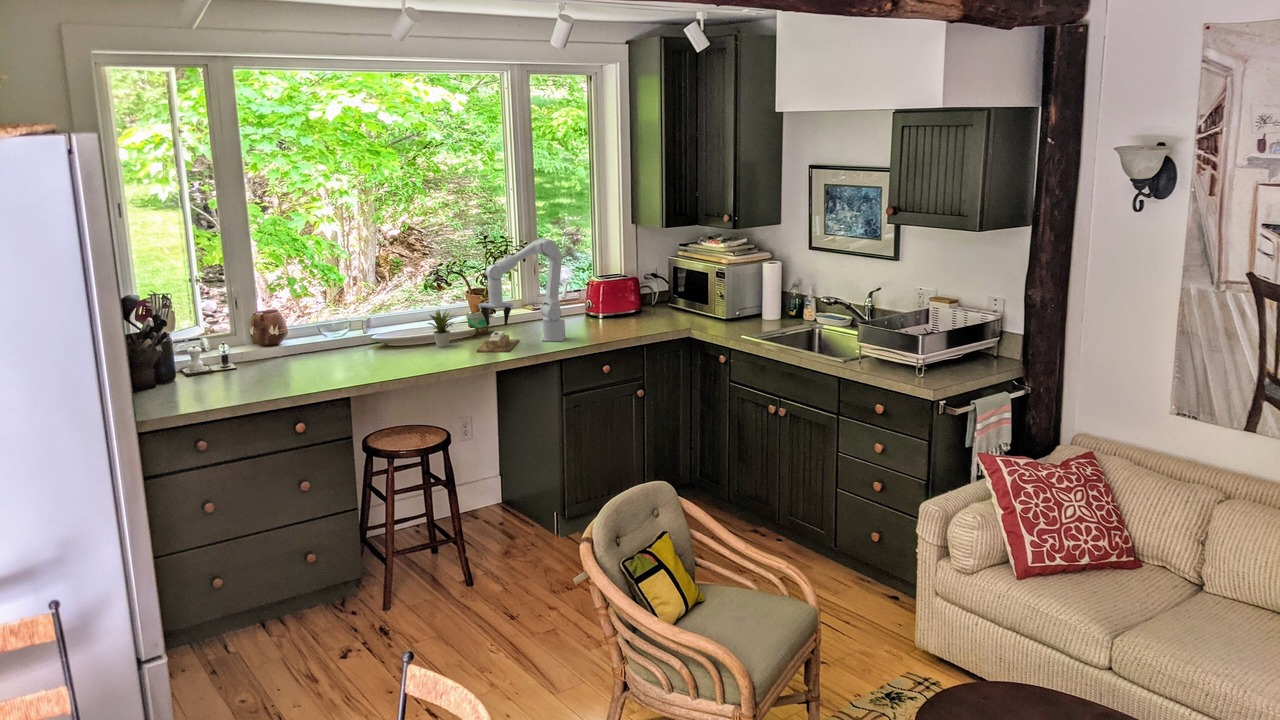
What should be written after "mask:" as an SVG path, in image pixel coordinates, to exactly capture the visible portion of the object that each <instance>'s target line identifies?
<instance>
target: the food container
mask: <svg viewBox="0 0 1280 720" xmlns="http://www.w3.org/2000/svg"><path fill="white" fill-rule="evenodd" d="M490 315H491V314H490V312H489V316H490ZM465 316H466V317H465V318H466V319H467V324H468V325H467V326H468V328H469V327H470V328H475V329H476V333H475V335H474V336H482V335H487V334H488V333H489V325H488V326H487V324H486V320H485V318H484V316H483V314H482V312H481V311H476V312H473V313H469V312H468V313H467V312H466V315H465Z"/></svg>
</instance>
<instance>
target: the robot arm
mask: <svg viewBox="0 0 1280 720" xmlns="http://www.w3.org/2000/svg"><path fill="white" fill-rule="evenodd" d="M533 254H539V255H544V257H545V258H546V259H547V260H548V271H547V281H546V282H547V283H546V291H545V292H546V293H545V296H544V297H545V298H543V301H542V305H541V306H540V309H539V310H540V314H541V315H542V329H543V338H542V339H541V342H563V341H565V339H566V337H567V336H566V322H565V319H561V316H562V310H561V302H560V299H559V293H560V292H559V291H560V281H561V273H562V262H563V261H562V260H563V257H562V254H561V252H560V250H559V245H558V244H557V243H556V242H555V241H554V240H551V239H547V238H545V237H539V238H537V239H536V240H533V241H532V242H531V243H529V244H528V245H526V246H525V247H524V248H522V249H520V250H519V251H518V252H517V253H515V254H514V255H511V254H508V255H507V254H505V255H503V258H501V259H500V260H498V261H494V264H490V265H488V266H487V267H486V269H485V271H484V274H485V276H486V277H487V292H488V293H487V295H488V302H482V303H478V305H477V306H478V309H479V310H480V309H481V310H480V312H482V314H483V316H484V318H485V320H486V324H487V326H488V327H489V326H490V323H491V322H490V315H489V313H490V309H503V319H504V326H507V325H508V320H509V317H510V314H511V311H512V309H514V302H504V301H503V285H502V284H503V283H502V277H503V276H504V275H505V274H507V273H508V272H510V271H511V270H512V269H514V268H516V267H517V265H518V262H521V261H522V260H524V259H526V258H528V257H529V256H531V255H533Z"/></svg>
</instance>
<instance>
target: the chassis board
mask: <svg viewBox="0 0 1280 720" xmlns="http://www.w3.org/2000/svg"><path fill="white" fill-rule="evenodd" d="M490 338H491V336H489V337H488V338H487V339H486V340H484V342H483V343H482V344H481V345H480V346H479V347H478V348H477V349H476V350H475V352H476V353H510V352H511V351H512V350H513V349H514V348H515V346H516V345H517V344H518V343H519V342H520V339H519V338H516V339H515V338H511V339H510V334H505V335H504V338H503V339H502V340H499V341H489V339H490ZM513 347H514V348H513Z"/></svg>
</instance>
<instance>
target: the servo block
mask: <svg viewBox="0 0 1280 720" xmlns="http://www.w3.org/2000/svg"><path fill="white" fill-rule="evenodd" d="M504 335H507V334H506V332H505V330H504V331H503V330H500V331H498V330H496V331H495V330H494V331H493V333H491V334H490V337H491V338H490V337H489V338H490V339H489V338H488V339H489V341H499V340H502V339H503V338H504Z"/></svg>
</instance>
